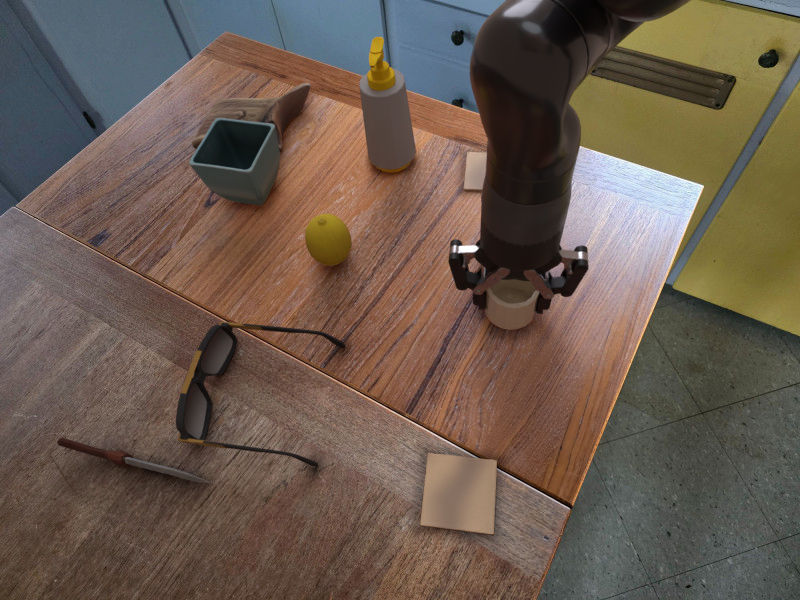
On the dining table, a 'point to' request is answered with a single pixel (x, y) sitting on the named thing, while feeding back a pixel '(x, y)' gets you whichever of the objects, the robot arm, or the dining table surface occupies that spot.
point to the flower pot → (238, 160)
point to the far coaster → (475, 171)
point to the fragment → (258, 111)
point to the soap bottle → (386, 113)
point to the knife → (126, 459)
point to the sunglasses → (213, 363)
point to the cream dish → (511, 303)
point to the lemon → (328, 239)
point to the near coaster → (459, 493)
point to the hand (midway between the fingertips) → (510, 304)
